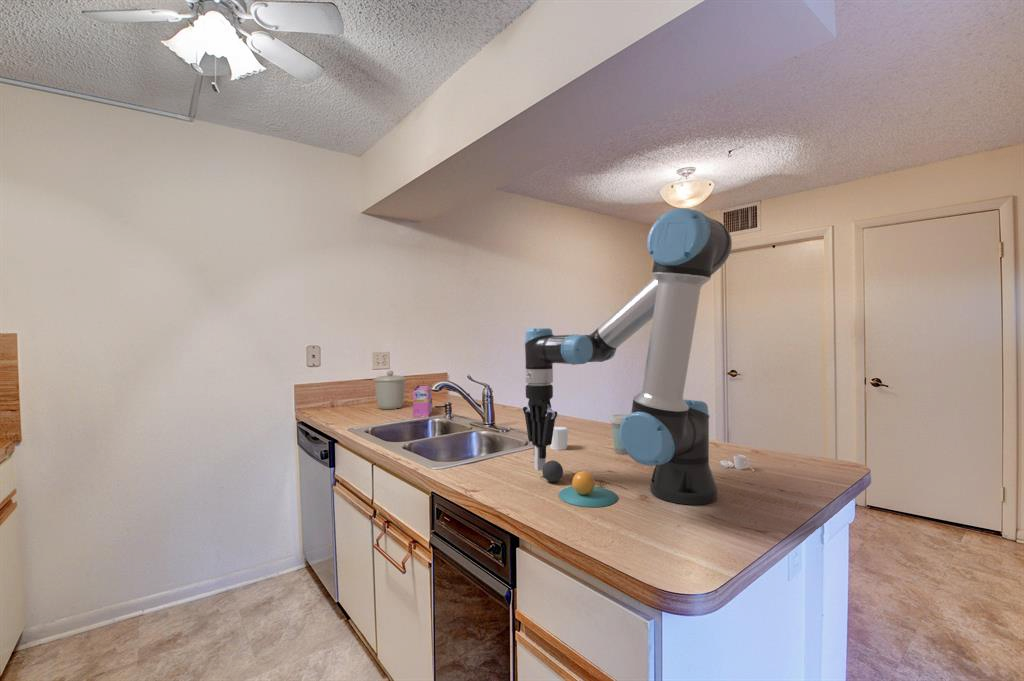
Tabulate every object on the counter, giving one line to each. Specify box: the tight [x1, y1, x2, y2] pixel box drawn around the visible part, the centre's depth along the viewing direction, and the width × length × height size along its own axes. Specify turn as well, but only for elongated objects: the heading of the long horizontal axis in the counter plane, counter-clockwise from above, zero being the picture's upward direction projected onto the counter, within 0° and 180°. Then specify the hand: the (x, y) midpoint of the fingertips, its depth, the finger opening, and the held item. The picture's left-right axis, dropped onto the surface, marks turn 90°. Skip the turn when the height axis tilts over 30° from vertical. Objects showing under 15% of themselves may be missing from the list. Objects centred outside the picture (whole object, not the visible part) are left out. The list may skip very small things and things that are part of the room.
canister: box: [372, 370, 407, 410], centre depth 245 cm, size 18×18×21 cm
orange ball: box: [571, 470, 596, 495], centre depth 107 cm, size 6×6×6 cm
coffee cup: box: [610, 413, 629, 455], centre depth 145 cm, size 8×8×12 cm
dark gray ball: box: [541, 459, 564, 483], centre depth 116 cm, size 6×6×6 cm
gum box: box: [412, 384, 433, 418], centre depth 227 cm, size 24×8×14 cm, turn 6°
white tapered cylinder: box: [549, 425, 569, 451], centre depth 152 cm, size 7×7×7 cm
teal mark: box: [558, 485, 619, 508], centre depth 105 cm, size 14×14×1 cm
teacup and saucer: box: [719, 454, 751, 470], centre depth 126 cm, size 9×8×4 cm
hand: (540, 469), depth 121 cm, fingers closed
